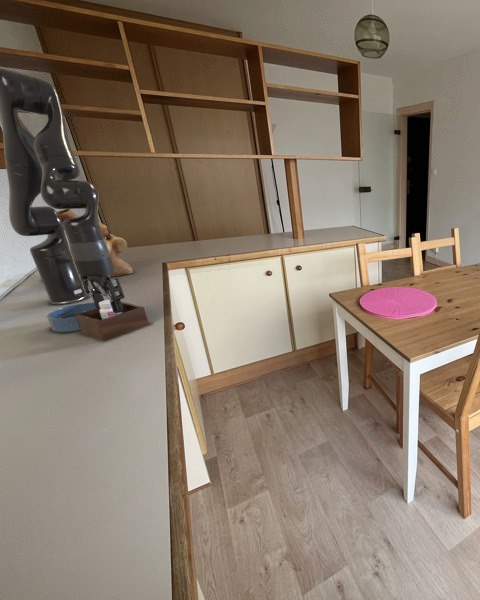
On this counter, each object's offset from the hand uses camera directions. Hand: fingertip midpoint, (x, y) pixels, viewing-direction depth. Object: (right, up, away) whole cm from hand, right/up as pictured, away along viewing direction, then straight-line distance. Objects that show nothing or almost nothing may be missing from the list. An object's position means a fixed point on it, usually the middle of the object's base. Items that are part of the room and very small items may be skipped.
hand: (110, 310), depth 93 cm
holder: (0, -6, +2) cm, 6 cm away
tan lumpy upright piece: (-50, +14, +51) cm, 72 cm away
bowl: (-13, -4, +5) cm, 15 cm away
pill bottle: (0, -6, +2) cm, 6 cm away
